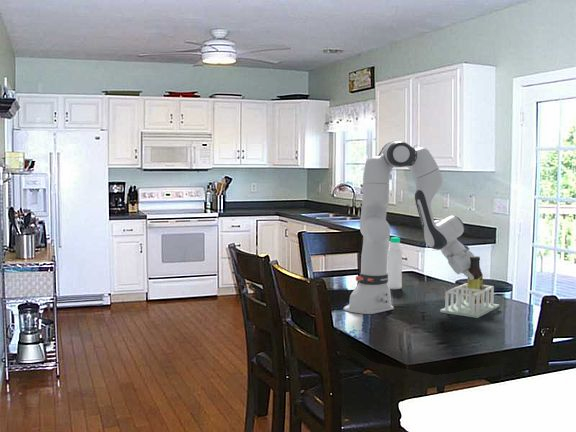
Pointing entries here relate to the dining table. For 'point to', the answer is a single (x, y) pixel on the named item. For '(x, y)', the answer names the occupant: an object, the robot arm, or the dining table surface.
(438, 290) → the dining table surface
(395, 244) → the water bottle
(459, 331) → the dining table surface
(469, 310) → the dish rack
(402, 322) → the dining table surface
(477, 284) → the sauce bottle
